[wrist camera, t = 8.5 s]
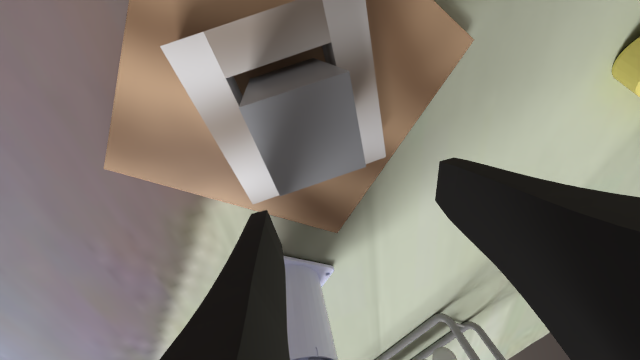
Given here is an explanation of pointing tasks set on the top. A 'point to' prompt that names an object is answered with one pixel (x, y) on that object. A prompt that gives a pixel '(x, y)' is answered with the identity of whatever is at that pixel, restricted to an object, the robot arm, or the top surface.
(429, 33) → the duct base
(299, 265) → the robot arm
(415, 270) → the top surface
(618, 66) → the plastic component
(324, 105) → the grey rectangular block
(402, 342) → the newton's cradle
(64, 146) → the top surface
